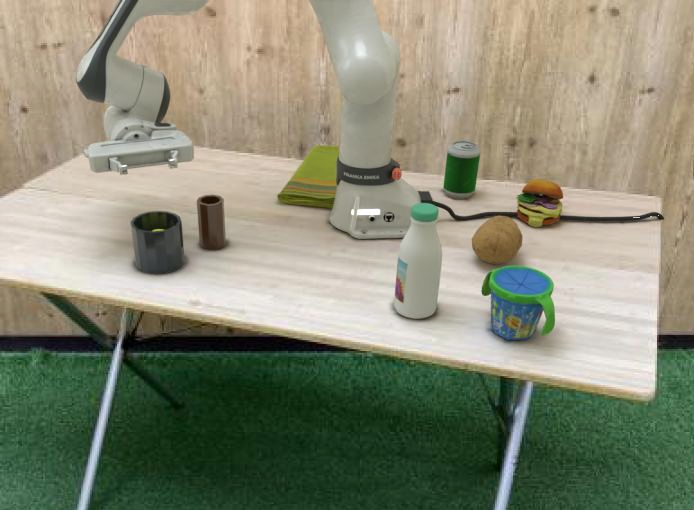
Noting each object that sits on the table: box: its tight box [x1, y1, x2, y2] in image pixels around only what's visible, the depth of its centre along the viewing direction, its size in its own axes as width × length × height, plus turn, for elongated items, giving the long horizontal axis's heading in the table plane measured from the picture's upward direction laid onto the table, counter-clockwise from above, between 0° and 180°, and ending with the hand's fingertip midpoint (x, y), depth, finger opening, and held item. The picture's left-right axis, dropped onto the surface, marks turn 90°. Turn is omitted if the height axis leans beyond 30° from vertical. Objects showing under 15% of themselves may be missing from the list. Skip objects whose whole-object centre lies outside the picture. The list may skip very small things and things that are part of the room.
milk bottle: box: [393, 203, 443, 320], centre depth 138 cm, size 8×8×20 cm
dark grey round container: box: [130, 210, 186, 275], centre depth 155 cm, size 10×10×9 cm
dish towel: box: [276, 144, 339, 209], centre depth 193 cm, size 15×36×3 cm, turn 166°
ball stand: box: [196, 194, 227, 251], centre depth 161 cm, size 5×5×10 cm
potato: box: [471, 215, 523, 265], centre depth 158 cm, size 10×14×8 cm
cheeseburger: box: [515, 178, 564, 228], centre depth 175 cm, size 10×11×10 cm
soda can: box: [442, 140, 481, 200], centre depth 184 cm, size 8×8×12 cm
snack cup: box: [481, 265, 556, 341], centre depth 135 cm, size 16×10×10 cm
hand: (148, 167), depth 147 cm, fingers open, 8 cm apart
